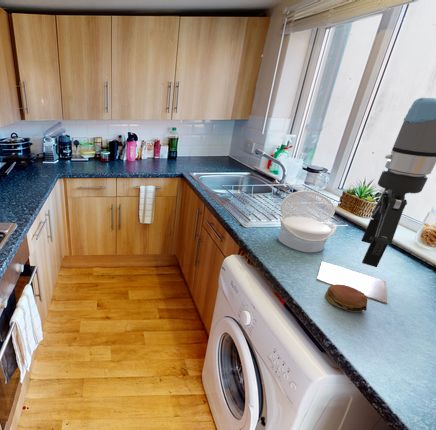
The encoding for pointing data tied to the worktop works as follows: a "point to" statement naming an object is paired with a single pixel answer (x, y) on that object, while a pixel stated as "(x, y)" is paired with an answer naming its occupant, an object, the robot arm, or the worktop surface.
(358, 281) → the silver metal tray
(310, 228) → the plastic deli container
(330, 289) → the burger
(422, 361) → the worktop surface
